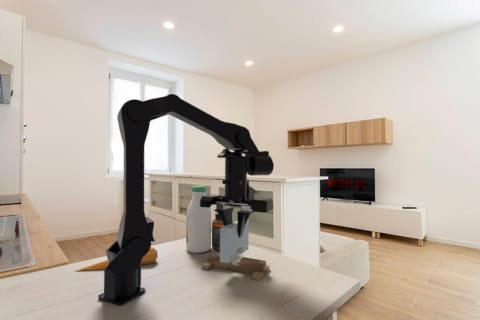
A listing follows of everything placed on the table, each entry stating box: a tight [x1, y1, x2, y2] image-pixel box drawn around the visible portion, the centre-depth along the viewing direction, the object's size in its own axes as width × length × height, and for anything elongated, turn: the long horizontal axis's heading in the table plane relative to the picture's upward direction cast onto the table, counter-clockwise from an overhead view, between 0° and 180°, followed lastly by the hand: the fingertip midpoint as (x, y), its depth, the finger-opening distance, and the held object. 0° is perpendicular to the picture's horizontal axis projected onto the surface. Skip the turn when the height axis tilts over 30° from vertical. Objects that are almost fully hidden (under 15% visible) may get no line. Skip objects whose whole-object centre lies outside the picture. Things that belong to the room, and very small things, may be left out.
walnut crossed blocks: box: [201, 251, 270, 281], centre depth 66 cm, size 7×16×3 cm, turn 65°
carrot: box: [76, 246, 158, 272], centre depth 68 cm, size 20×4×4 cm, turn 112°
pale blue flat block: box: [219, 219, 250, 263], centre depth 67 cm, size 12×2×8 cm, turn 155°
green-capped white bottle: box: [185, 185, 212, 254], centre depth 82 cm, size 8×8×20 cm
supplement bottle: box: [211, 212, 224, 251], centre depth 83 cm, size 6×6×11 cm
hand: (235, 236), depth 67 cm, fingers closed on pale blue flat block, 2 cm apart
